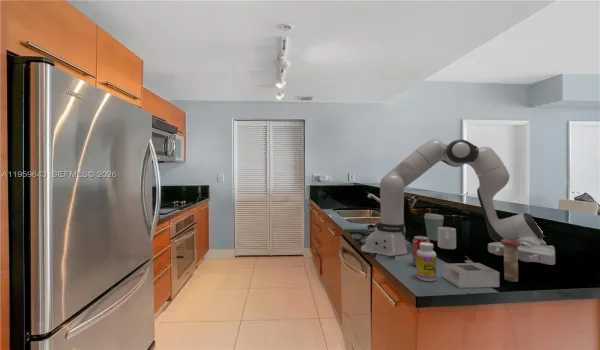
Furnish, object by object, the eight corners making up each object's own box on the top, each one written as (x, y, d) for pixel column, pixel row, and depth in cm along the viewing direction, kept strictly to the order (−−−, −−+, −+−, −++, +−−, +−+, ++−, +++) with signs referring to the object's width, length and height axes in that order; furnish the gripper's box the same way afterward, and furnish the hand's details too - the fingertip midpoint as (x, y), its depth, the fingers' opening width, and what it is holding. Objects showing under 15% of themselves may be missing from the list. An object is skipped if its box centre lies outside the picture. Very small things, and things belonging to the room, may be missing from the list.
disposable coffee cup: (437, 237, 168) (437, 212, 168) (448, 241, 158) (448, 215, 158) (420, 237, 168) (420, 213, 168) (430, 241, 157) (430, 215, 157)
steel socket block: (459, 288, 93) (459, 273, 93) (442, 277, 103) (442, 263, 103) (499, 286, 94) (499, 272, 94) (479, 276, 104) (479, 262, 104)
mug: (437, 244, 151) (437, 226, 151) (455, 246, 148) (455, 227, 148) (438, 250, 140) (438, 230, 140) (458, 251, 137) (457, 231, 137)
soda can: (433, 265, 116) (433, 237, 116) (427, 269, 111) (426, 240, 111) (416, 262, 121) (416, 234, 121) (409, 265, 116) (409, 237, 116)
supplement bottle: (422, 282, 98) (421, 246, 98) (413, 275, 105) (413, 241, 105) (440, 281, 99) (439, 245, 99) (430, 275, 105) (430, 241, 105)
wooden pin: (503, 281, 99) (502, 242, 99) (500, 275, 104) (499, 238, 104) (523, 283, 96) (522, 243, 96) (518, 278, 101) (518, 240, 101)
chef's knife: (472, 271, 111) (480, 271, 110) (472, 268, 111) (480, 268, 110) (459, 257, 129) (466, 257, 128) (459, 254, 129) (466, 254, 128)
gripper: (495, 237, 118) (480, 241, 110) (560, 247, 101) (548, 253, 93) (495, 251, 118) (481, 257, 110) (560, 264, 101) (548, 272, 93)
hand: (512, 255), depth 101 cm, fingers open, 8 cm apart
